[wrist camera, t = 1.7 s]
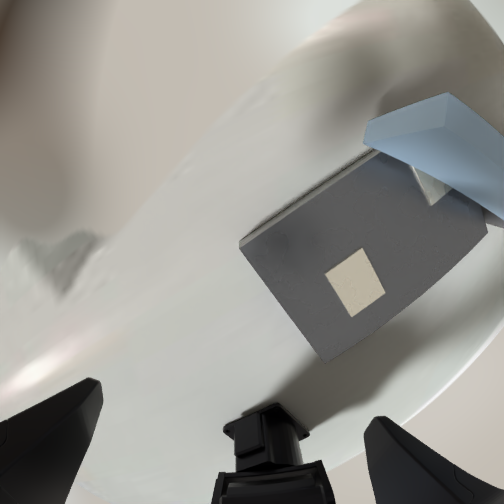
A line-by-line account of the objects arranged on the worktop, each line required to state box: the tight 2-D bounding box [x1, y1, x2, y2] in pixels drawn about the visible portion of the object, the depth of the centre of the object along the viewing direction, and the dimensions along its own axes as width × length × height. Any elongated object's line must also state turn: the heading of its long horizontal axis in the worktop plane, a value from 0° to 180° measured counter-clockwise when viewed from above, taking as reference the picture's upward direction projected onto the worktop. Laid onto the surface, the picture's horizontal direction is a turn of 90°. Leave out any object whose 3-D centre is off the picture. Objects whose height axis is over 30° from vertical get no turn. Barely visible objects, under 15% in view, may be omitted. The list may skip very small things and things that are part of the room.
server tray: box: [239, 149, 488, 363], centre depth 19 cm, size 11×18×2 cm, turn 125°
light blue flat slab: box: [363, 92, 504, 228], centre depth 13 cm, size 17×2×11 cm, turn 75°
